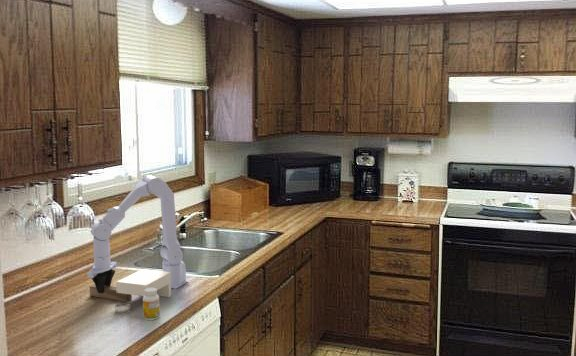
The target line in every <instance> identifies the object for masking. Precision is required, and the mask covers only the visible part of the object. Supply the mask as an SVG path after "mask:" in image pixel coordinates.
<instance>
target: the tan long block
mask: <svg viewBox="0 0 576 356" xmlns="http://www.w3.org/2000/svg"><path fill="white" fill-rule="evenodd" d="M116 290H117V286H113V285H111V286H106V285H104V293H98V291H97V288H96V286H95V283H94V284H91V285H90V286H89V296H90V297H94V298H95V297H96V298H102V299H109V300H116V301H123V302H128V301H130V300H131V299H132V296H133V295H131V294H123V293H116Z"/></svg>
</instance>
